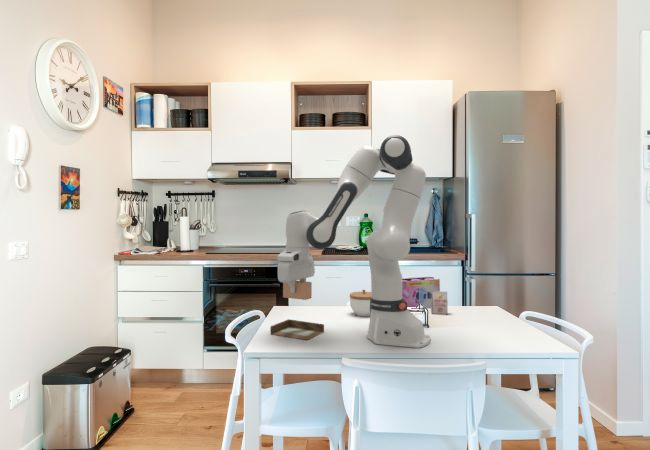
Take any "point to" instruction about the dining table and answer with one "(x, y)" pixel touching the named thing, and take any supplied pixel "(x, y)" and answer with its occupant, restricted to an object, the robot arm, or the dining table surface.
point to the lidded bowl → (360, 303)
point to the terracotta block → (298, 290)
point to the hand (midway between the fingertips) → (297, 291)
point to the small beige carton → (439, 303)
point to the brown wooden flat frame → (297, 329)
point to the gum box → (419, 290)
